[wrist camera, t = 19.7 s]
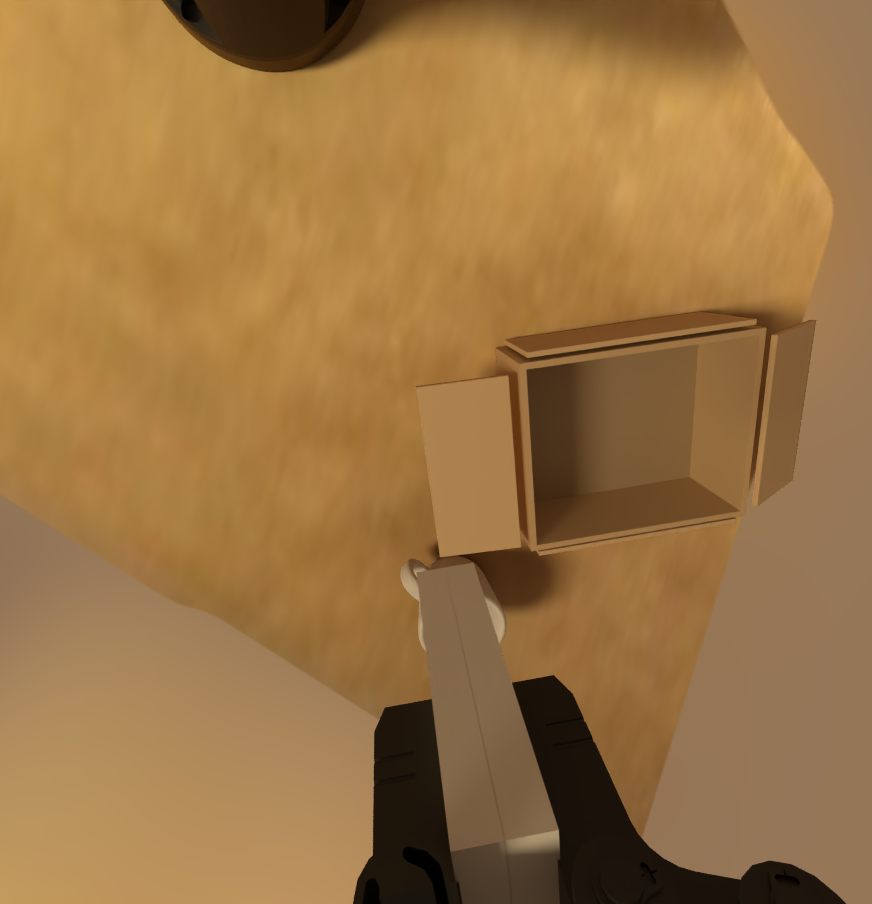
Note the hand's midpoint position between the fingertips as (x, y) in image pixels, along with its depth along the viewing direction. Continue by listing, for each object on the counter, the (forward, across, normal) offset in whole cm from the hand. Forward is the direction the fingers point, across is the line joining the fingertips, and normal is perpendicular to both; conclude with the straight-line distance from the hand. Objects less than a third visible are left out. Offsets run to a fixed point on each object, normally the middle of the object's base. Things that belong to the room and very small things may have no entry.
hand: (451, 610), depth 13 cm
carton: (+32, +18, -7) cm, 38 cm away
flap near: (+24, +8, -7) cm, 27 cm away
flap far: (+24, +28, -7) cm, 38 cm away
